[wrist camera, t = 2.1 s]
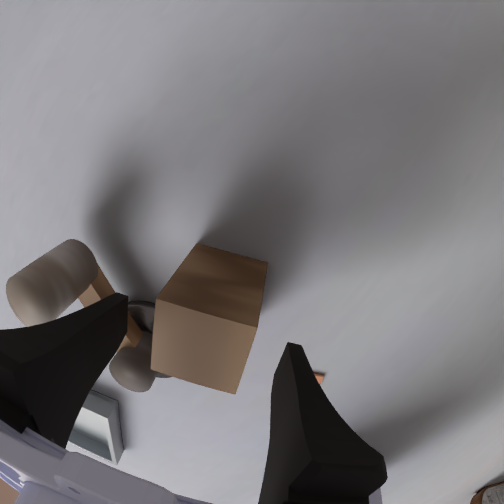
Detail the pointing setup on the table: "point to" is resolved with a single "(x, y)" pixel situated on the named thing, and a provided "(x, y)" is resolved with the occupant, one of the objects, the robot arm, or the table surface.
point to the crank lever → (88, 291)
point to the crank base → (144, 319)
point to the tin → (490, 495)
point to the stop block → (208, 318)
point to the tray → (98, 428)
